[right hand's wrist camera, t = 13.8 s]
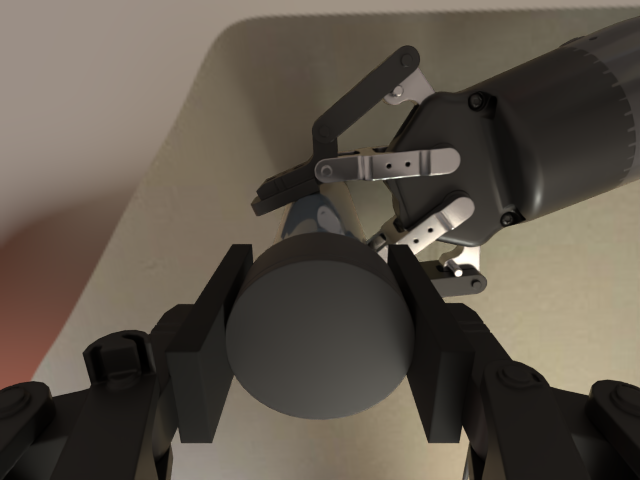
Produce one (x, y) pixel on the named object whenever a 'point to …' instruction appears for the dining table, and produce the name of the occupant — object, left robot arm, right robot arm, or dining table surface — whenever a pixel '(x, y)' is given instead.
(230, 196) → the dining table surface
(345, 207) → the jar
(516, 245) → the dining table surface
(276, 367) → the lid
